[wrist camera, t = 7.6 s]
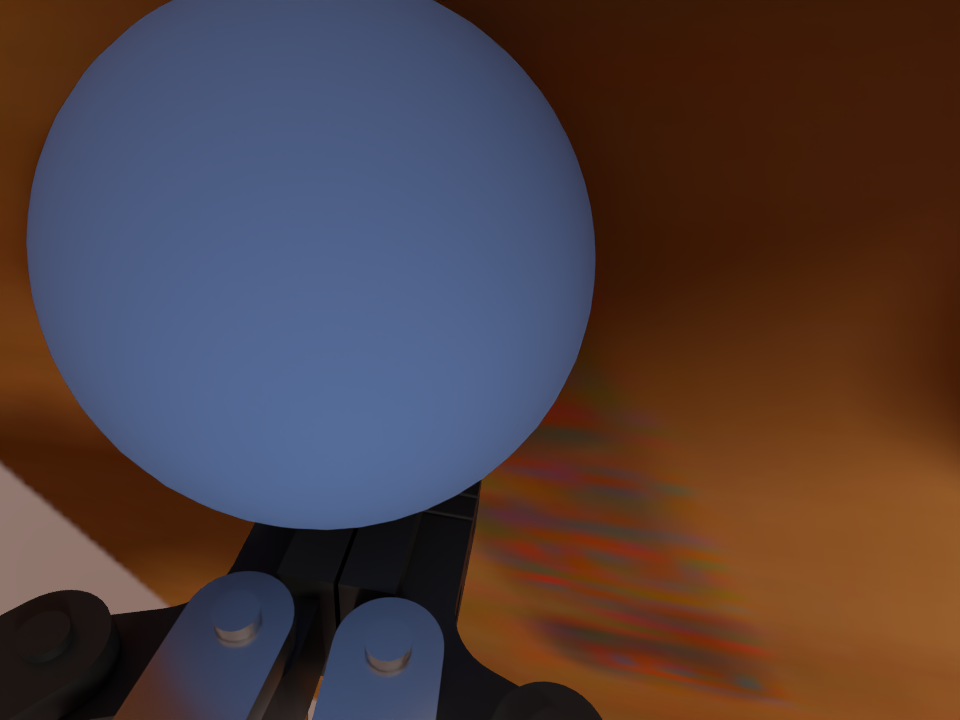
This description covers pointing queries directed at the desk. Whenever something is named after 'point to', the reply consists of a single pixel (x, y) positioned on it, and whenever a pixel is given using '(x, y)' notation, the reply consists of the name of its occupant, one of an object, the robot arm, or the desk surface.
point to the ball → (311, 255)
